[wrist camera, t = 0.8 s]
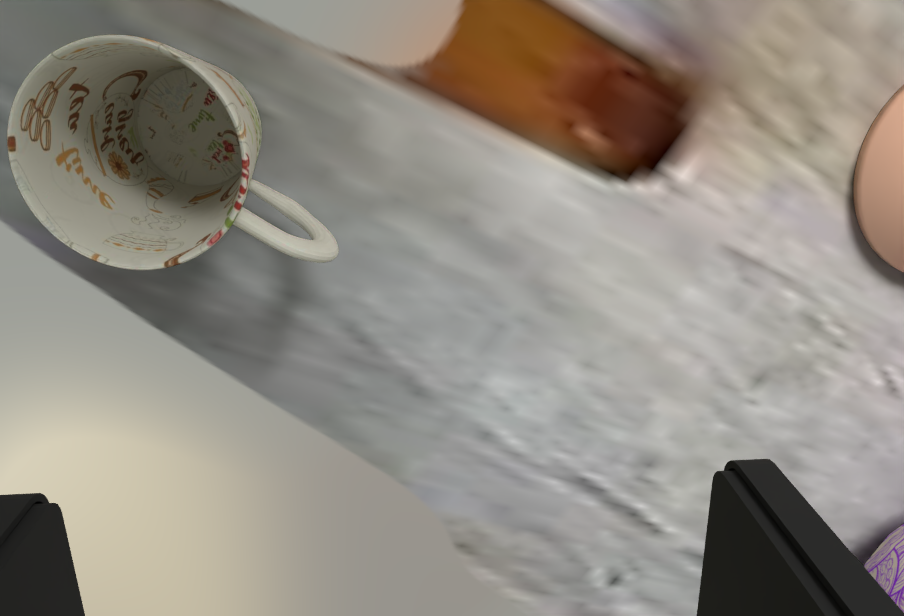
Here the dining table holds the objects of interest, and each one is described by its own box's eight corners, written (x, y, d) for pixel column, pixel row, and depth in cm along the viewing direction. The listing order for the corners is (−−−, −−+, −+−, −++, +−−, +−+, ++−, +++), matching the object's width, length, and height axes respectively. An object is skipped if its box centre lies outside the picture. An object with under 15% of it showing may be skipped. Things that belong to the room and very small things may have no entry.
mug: (159, -4, 35) (68, -18, 25) (394, 152, 38) (391, 191, 28) (78, 152, 37) (-34, 192, 27) (307, 287, 40) (277, 366, 30)
